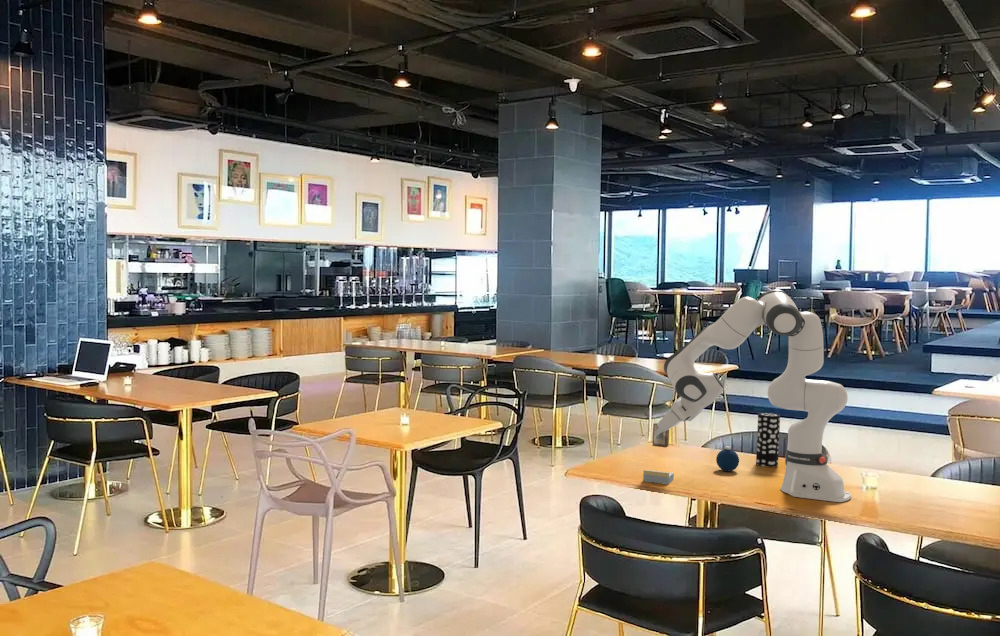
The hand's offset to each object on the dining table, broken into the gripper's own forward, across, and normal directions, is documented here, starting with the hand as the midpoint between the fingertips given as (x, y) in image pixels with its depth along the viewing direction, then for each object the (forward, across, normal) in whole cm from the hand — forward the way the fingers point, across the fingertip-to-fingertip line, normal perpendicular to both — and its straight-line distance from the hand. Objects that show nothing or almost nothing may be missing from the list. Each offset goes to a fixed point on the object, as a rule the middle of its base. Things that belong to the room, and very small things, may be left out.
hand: (657, 433), depth 302 cm
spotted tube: (-11, -48, +34) cm, 60 cm away
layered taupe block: (+2, 0, +4) cm, 5 cm away
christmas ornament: (-3, -28, +26) cm, 38 cm away
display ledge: (+10, +2, +13) cm, 17 cm away
